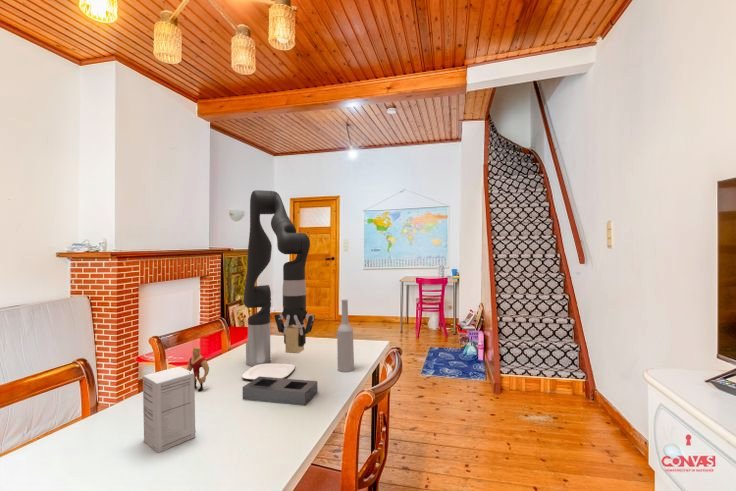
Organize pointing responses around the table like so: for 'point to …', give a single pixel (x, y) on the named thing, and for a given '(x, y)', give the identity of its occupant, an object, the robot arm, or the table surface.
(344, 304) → the bottle
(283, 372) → the plate
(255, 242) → the robot arm
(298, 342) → the brass peg
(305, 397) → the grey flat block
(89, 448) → the table surface
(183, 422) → the supplement box
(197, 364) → the action figure
